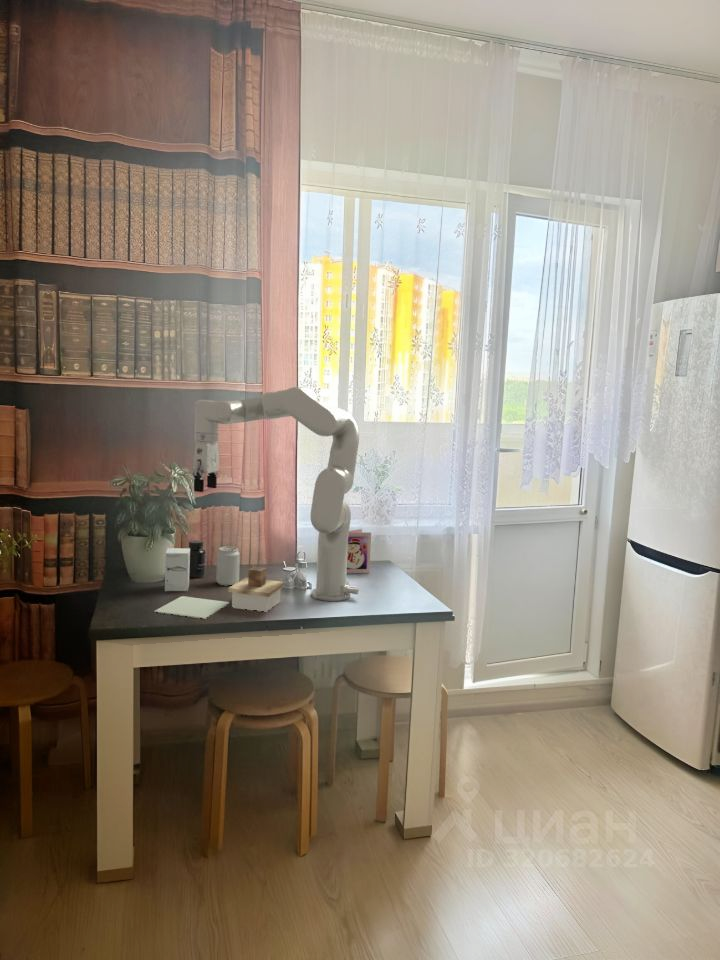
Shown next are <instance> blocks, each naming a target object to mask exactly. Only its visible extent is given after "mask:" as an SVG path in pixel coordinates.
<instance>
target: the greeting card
mask: <svg viewBox="0 0 720 960" xmlns="http://www.w3.org/2000/svg"><path fill="white" fill-rule="evenodd" d="M371 543H372V532H368V531H367V532H363V528H358V529H353V530H349V535H348V550H347V573H346V574H370V567H371V566H370V565H371V549H372V548H371V545H372V544H371Z"/></svg>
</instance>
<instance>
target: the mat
mask: <svg viewBox="0 0 720 960" xmlns="http://www.w3.org/2000/svg"><path fill="white" fill-rule="evenodd" d="M227 604H228V605H229V604H230V602H229V601H223V600H214V599H208V598H199V597H198V598H197V597H192V596H186V595H185V596H184V595H182V596H179V597H178V598H176V599H174V600H172V601H170V602H168V603H166V604H164V605H163V606H161V607H160V608H159V607H158V608H157V609H154V613H156V612H158V614H164V613H165V614H164V615H171V614H173V615H172V616H178V615H179V616H180V617H185V616H187V618H194V619H200V618H202V619H203V620H206V619H208V618H209V617H210V615H211V616H212V615H214V614H216V613H217V612H218V611H220V610H222V609H223V608H225V607H226V606H228V605H227ZM221 608H222V609H221ZM179 616H178V617H179ZM207 617H208V618H207ZM202 619H201V620H202Z"/></svg>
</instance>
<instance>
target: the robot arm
mask: <svg viewBox="0 0 720 960" xmlns="http://www.w3.org/2000/svg"><path fill="white" fill-rule="evenodd" d="M316 395H317V394H315V392H314V391H313V390H312V389H311V388H309V387H307V386H306V387H304V386H293V387H289V388H287V389H281V390H275V391H269V392H264V393H263V394H261V395H260V396H255V397H249V398H243V399H238V400H237V399H236V400H235V399H233V400H219V401H218V400H217V401H216V400H212V399H199V400H197V401H196V402H195V403H194V404H195V405H194V443H195V445H194V453H193V454H194V455H193V465H192V467H191V469H192V475H193V492H196V493H198V492H199V493H203V492H204V491H205V479H204V476H205V474H208V475H206V476H207V478H206V487H207V488H209V489H216V488H218V487H217V486H218V484H217V483H218V482H217V480H218V479H217V478H218V471H219V470H220V459H219V458H220V452H219V424H220V425H231V424H241V423H246V422H253V421H260V420H276V419H280V418H287V417H292V418H293V419H295V420H296V421H297V422H298V423H300V424H301V425H303V426H304V427H305V428H306V429H308V430H309V431H311V432H312V433H314V434H316V435H318V436H320V437H332V443H331V446H330V449H329V450H330V451H329V458H328V463H327V467H326V468H324V469H323V470H322V471H321V472H320V473H319V474H318V475H317V477H316V480H315V483H314V489H313V495H312V502H311V509H310V523H311V525H312V527H313V528H314V529H315V530H316V531H317V532H318V539H317V553H316V554H317V560H316V582H315V583H316V584H315V588H314V589H312V590H311V592H310V595H311V597H312V598H314V599H316V600H320V601H326V602H339V601H344V600H348V599H349V598H351V594H352V595H358V594H359V588H358V587H357V586H352V585H350V584H349V581H348V580H347V574H348V573H347V550H348V535H349V531H350V526H351V520H352V519H351V515H352V514H351V513H352V512H351V508H350V506H349V504H348V503H347V502H346V501H345V500H344V499H345V494H347V493H348V492H349V491H351V490H352V487H353V486H354V479H355V471H356V464H357V457H358V450H359V443H360V431H359V427H358V425H357V422H356V421H355V419H354V418H353V416H352V415H351V414H350V413H348V412H347V411H345V410H344V409H341V408H338V407H326V406H325V405H323V404H322V403H320V402H319V401H318V400H317V396H316Z"/></svg>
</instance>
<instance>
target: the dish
mask: <svg viewBox="0 0 720 960" xmlns="http://www.w3.org/2000/svg"><path fill="white" fill-rule="evenodd" d="M231 593H232V592H231ZM280 602H281V589H279V590H278V591H277V592H275V593H274V594H272V595H271V596H270V597H264V596H256V595H248V594H240V593H232V595H231V608H232V607H233V608H232V609H239V610H245V609H247V610H246V611H253V610H257V611H256V612H261V611H264V612H263V613H267V612H269V611H270V610H272V609H273V608H274V607H275V606H277V605H278V604H279V603H280ZM276 604H277V605H276ZM273 606H274V607H273ZM272 607H273V608H272ZM268 610H269V611H268Z"/></svg>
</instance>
